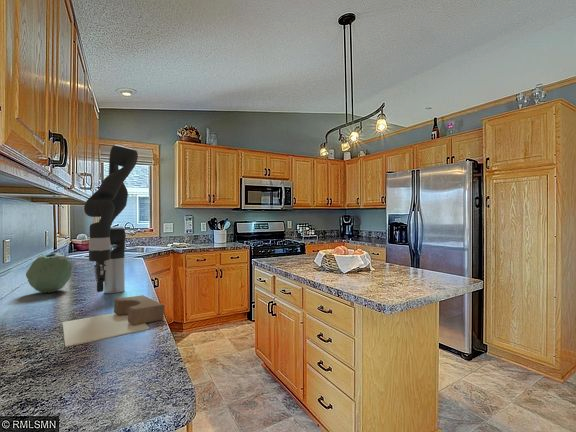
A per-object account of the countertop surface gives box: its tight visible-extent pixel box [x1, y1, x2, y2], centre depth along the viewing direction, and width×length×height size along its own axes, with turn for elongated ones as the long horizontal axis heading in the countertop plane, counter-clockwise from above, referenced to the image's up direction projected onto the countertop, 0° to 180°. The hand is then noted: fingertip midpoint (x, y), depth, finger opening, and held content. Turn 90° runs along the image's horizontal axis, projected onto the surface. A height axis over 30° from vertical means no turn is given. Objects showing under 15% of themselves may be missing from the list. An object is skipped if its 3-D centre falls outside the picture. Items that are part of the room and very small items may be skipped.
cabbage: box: [25, 251, 73, 294], centre depth 156 cm, size 16×19×20 cm
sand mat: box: [62, 312, 150, 348], centre depth 106 cm, size 26×23×1 cm
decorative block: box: [113, 295, 165, 325], centre depth 115 cm, size 11×6×20 cm
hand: (100, 291), depth 123 cm, fingers closed
